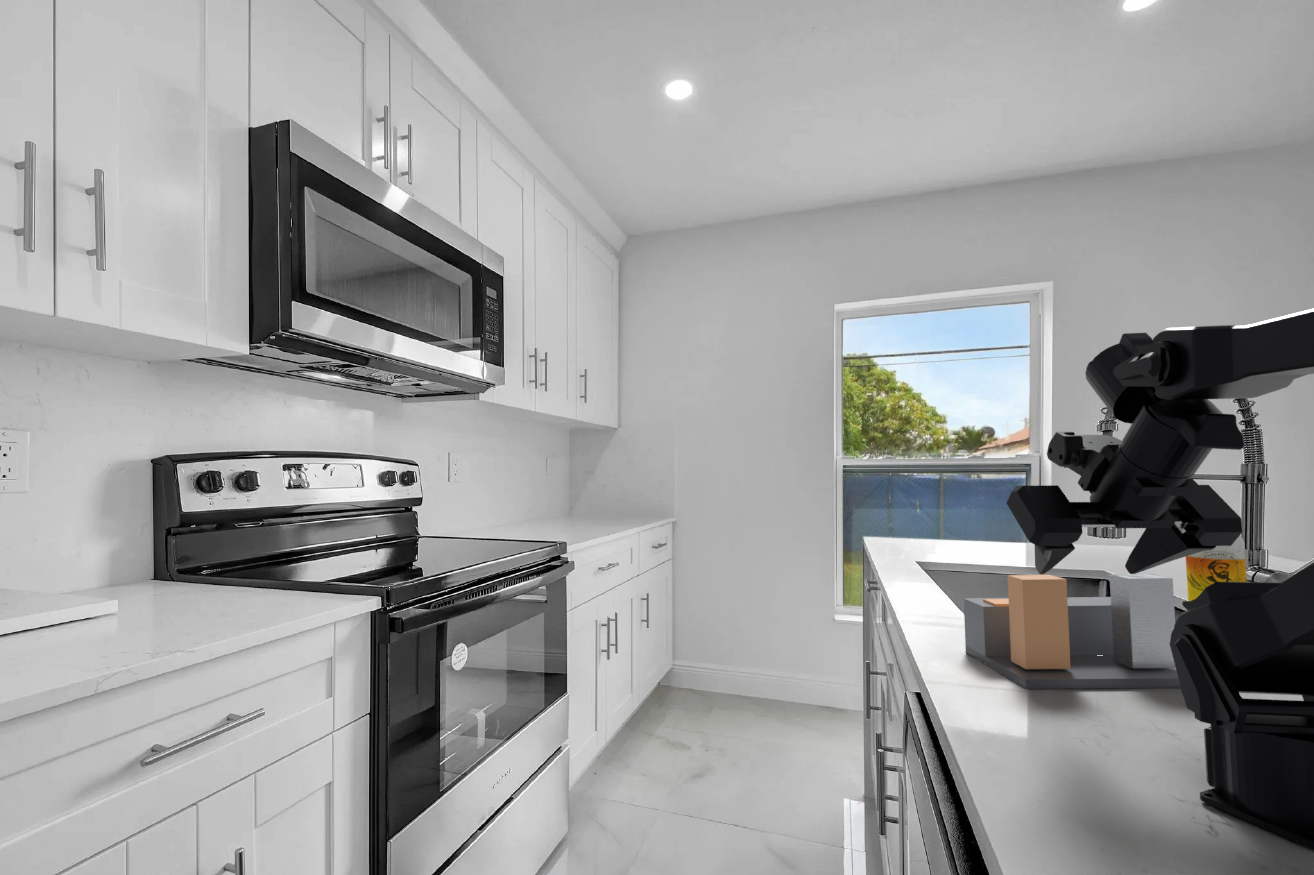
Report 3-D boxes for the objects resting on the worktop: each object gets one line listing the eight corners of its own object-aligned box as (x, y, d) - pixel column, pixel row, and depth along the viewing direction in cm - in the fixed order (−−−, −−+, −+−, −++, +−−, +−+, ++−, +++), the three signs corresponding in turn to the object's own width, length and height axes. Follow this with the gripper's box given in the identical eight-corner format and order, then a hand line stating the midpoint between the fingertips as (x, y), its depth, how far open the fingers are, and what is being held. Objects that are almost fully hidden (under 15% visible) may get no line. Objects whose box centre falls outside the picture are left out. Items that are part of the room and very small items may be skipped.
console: (1211, 687, 68) (1207, 618, 68) (1026, 688, 68) (1023, 620, 68) (1120, 651, 81) (1117, 594, 82) (965, 652, 81) (963, 595, 82)
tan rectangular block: (1070, 668, 70) (1066, 579, 71) (1025, 669, 70) (1022, 579, 71) (1053, 660, 73) (1050, 574, 74) (1011, 661, 73) (1007, 575, 74)
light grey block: (1177, 667, 70) (1172, 578, 71) (1132, 668, 70) (1128, 578, 71) (1156, 659, 73) (1152, 573, 74) (1113, 660, 73) (1109, 574, 74)
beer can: (1197, 646, 83) (1191, 533, 84) (1184, 635, 88) (1178, 529, 89) (1258, 652, 80) (1251, 534, 81) (1241, 640, 85) (1234, 530, 86)
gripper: (1204, 401, 61) (1130, 513, 71) (1010, 403, 61) (964, 514, 71) (1293, 480, 52) (1195, 595, 62) (1067, 480, 53) (1005, 595, 62)
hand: (1083, 570), depth 65 cm, fingers open, 9 cm apart
